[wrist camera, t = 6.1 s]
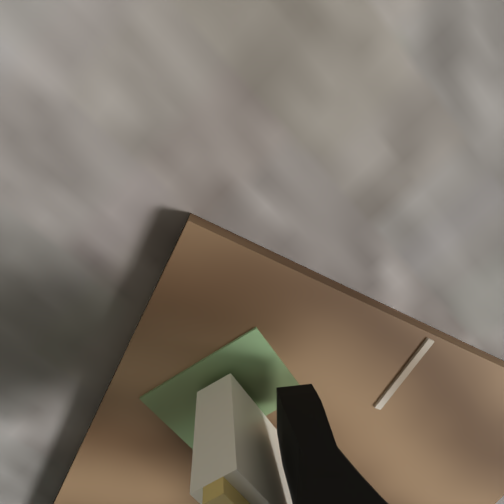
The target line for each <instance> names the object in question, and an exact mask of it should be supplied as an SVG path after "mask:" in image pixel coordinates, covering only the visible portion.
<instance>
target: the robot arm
mask: <svg viewBox="0 0 504 504" xmlns="http://www.w3.org/2000/svg"><path fill="white" fill-rule="evenodd" d="M276 393H277V436H278V442H279V448H280V454H281V460H282V465H283V469H284V473H285V477H286V481H287V484H288V488H289V492H290V496H291V499H292V503H293V504H388V503H387V502H386V501H385V500H384V499H383V498H382V497H381V496H380V495H379V493H378V492H377V491H376V490H375V489H374V488H373V487H372V486H371V485H370V484H369V483H368V482H367V481H366V480H365V478H364V477H363V476H362V475H361V474H360V473H359V472H358V471H357V469H356V468H355V467H354V466H353V465H352V464H351V462H350V461H349V460H348V459H347V458H346V456H345V455H344V454H343V453H342V452H341V450H340V449H339V448H338V447H337V445H336V442H335V439H334V436H333V433H332V430H331V427H330V424H329V421H328V418H327V415H326V413H325V410H324V407H323V404H322V401H321V399H320V397H319V396H318V394H317V392H316V390H315V389H314V387H313V385H312V384H305V385H295V386H286V387H277V388H276Z"/></svg>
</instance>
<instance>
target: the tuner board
mask: <svg viewBox="0 0 504 504" xmlns="http://www.w3.org/2000/svg"><path fill="white" fill-rule="evenodd" d="M230 373H231V374H232V375H233V377H234V378H235V379H236V380H237V382H238V383H239V384H240V385H241V387H242V388H243V389H244V390H245V391H246V393H247V394H248V395H249V396H250V398H251V399H252V400H253V401H254V402H255V404H256V405H257V406H258V407H259V409H260V410H261V411H262V412H263V414H264V415H265V416H266V417H267V418H268V420H269V421H270V422H271V423H272V425H273V426H274V427H275V428H276V429H277V393H276V388H277V387H286V386H295V385H305V384H312V385H313V387H314V389H315V390H316V392H317V394H318V396H319V397H320V399H321V401H322V404H323V407H324V410H325V413H326V415H327V418H328V421H329V424H330V427H331V430H332V433H333V436H334V439H335V442H336V445H337V447H338V448H339V449H340V450H341V452H342V453H343V454H344V455H345V456H346V458H347V459H348V460H349V461H350V462H351V464H352V465H353V466H354V467H355V468H356V469H357V471H358V472H359V473H360V474H361V475H362V476H363V477H364V478H365V480H366V481H367V482H368V483H369V484H370V485H371V486H372V487H373V488H374V489H375V490H376V491H377V492H378V493H379V495H380V496H381V497H382V498H383V499H384V500H385V501H386V502H387V503H388V504H495V503H496V502H497V501H498V500H499V499H500V498H501V497H502V496H503V495H504V361H502V360H500V359H498V358H496V357H494V356H492V355H490V354H488V353H486V352H483V351H481V350H479V349H477V348H475V347H473V346H471V345H469V344H466V343H464V342H462V341H460V340H458V339H456V338H454V337H452V336H450V335H447V334H445V333H443V332H441V331H439V330H437V329H435V328H433V327H431V326H428V325H426V324H424V323H422V322H420V321H418V320H416V319H414V318H411V317H409V316H407V315H405V314H403V313H401V312H399V311H397V310H395V309H392V308H390V307H388V306H386V305H384V304H382V303H380V302H378V301H376V300H373V299H371V298H369V297H367V296H365V295H363V294H361V293H359V292H356V291H354V290H352V289H350V288H348V287H346V286H344V285H342V284H340V283H337V282H335V281H333V280H331V279H329V278H327V277H325V276H323V275H321V274H318V273H316V272H314V271H312V270H310V269H308V268H306V267H304V266H302V265H299V264H297V263H295V262H293V261H291V260H289V259H287V258H285V257H282V256H280V255H278V254H276V253H274V252H272V251H270V250H268V249H266V248H263V247H261V246H259V245H257V244H255V243H253V242H251V241H249V240H247V239H244V238H242V237H240V236H238V235H236V234H234V233H232V232H230V231H227V230H225V229H223V228H221V227H219V226H217V225H215V224H213V223H211V222H208V221H206V220H204V219H202V218H200V217H198V216H196V215H194V214H192V213H190V215H189V218H188V220H187V222H186V224H185V226H184V228H183V230H182V232H181V234H180V237H179V239H178V241H177V243H176V245H175V247H174V249H173V251H172V253H171V256H170V258H169V260H168V262H167V264H166V266H165V268H164V270H163V272H162V275H161V277H160V279H159V281H158V283H157V285H156V287H155V289H154V291H153V294H152V296H151V298H150V300H149V302H148V304H147V306H146V308H145V311H144V313H143V315H142V317H141V319H140V321H139V323H138V325H137V327H136V330H135V332H134V334H133V336H132V338H131V340H130V342H129V344H128V346H127V349H126V351H125V353H124V355H123V357H122V359H121V361H120V363H119V365H118V368H117V370H116V372H115V374H114V376H113V378H112V380H111V382H110V384H109V387H108V389H107V391H106V393H105V395H104V397H103V399H102V401H101V403H100V406H99V408H98V410H97V412H96V414H95V416H94V418H93V420H92V423H91V425H90V427H89V429H88V431H87V433H86V435H85V437H84V439H83V442H82V444H81V446H80V448H79V450H78V452H77V454H76V456H75V458H74V461H73V463H72V465H71V467H70V469H69V471H68V473H67V475H66V477H65V480H64V482H63V484H62V486H61V488H60V490H59V492H58V494H57V496H56V499H55V501H54V503H53V504H200V503H199V502H198V501H197V500H195V499H194V498H193V497H192V496H191V495H190V482H191V468H192V454H193V441H194V427H195V413H196V399H197V392H198V391H200V390H202V389H203V388H205V387H207V386H209V385H210V384H212V383H214V382H216V381H217V380H219V379H221V378H223V377H225V376H226V375H228V374H230Z"/></svg>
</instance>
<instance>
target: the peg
mask: <svg viewBox="0 0 504 504" xmlns="http://www.w3.org/2000/svg"><path fill="white" fill-rule="evenodd" d="M190 495H191V496H192V497H193V498H194V499H195V500H197V501H198V502H199V503H200V504H293V503H292V499H291V496H290V492H289V488H288V484H287V481H286V477H285V473H284V469H283V465H282V460H281V454H280V448H279V442H278V436H277V429H276V428H275V427H274V426H273V425H272V423H271V422H270V421H269V420H268V418H267V417H266V416H265V415H264V414H263V412H262V411H261V410H260V409H259V407H258V406H257V405H256V404H255V402H254V401H253V400H252V399H251V398H250V396H249V395H248V394H247V393H246V391H245V390H244V389H243V388H242V387H241V385H240V384H239V383H238V382H237V380H236V379H235V378H234V377H233V375H232V374H231V373H230V374H228V375H226V376H225V377H223V378H221V379H219V380H217V381H216V382H214V383H212V384H210V385H209V386H207V387H205V388H203V389H202V390H200V391H198V392H197V399H196V413H195V427H194V441H193V454H192V468H191V482H190Z"/></svg>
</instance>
